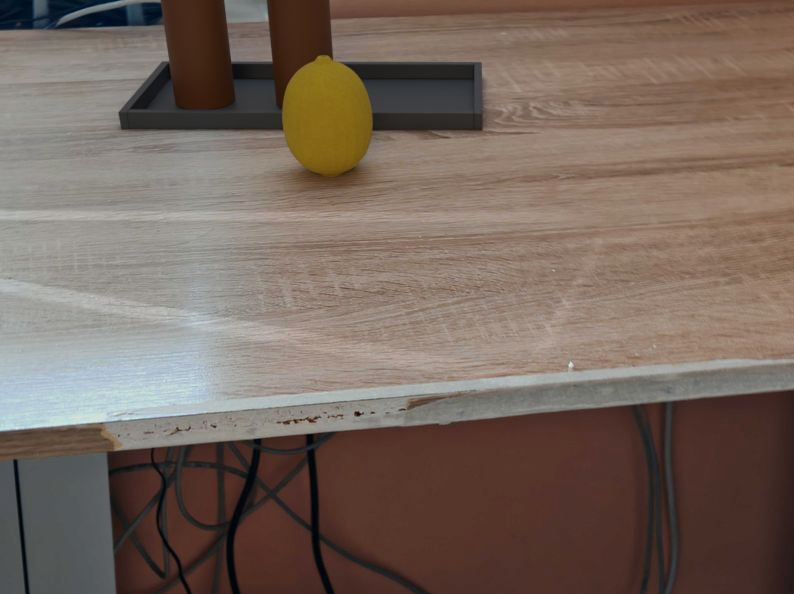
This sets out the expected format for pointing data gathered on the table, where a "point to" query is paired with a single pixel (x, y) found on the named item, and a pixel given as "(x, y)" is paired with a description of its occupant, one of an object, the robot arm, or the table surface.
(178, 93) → the bottle
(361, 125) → the lemon
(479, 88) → the tray
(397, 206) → the table surface
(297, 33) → the bottle
